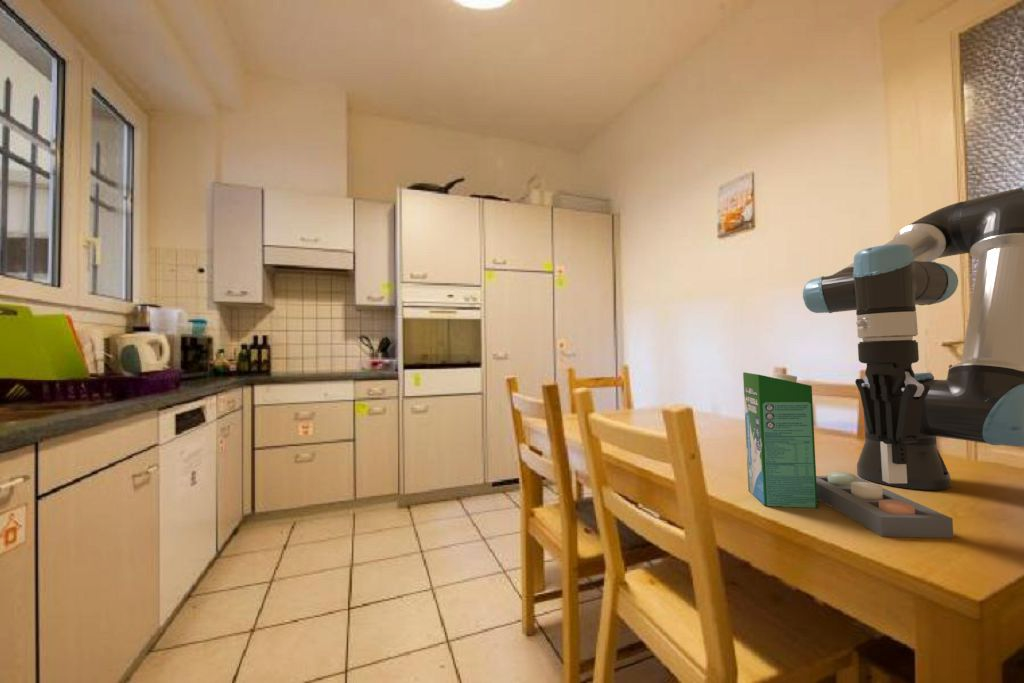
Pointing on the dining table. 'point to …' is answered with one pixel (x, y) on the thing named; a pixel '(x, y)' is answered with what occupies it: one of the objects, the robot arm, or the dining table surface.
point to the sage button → (841, 478)
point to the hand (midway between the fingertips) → (894, 481)
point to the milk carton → (780, 440)
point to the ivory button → (866, 490)
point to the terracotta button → (896, 507)
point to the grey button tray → (885, 513)
